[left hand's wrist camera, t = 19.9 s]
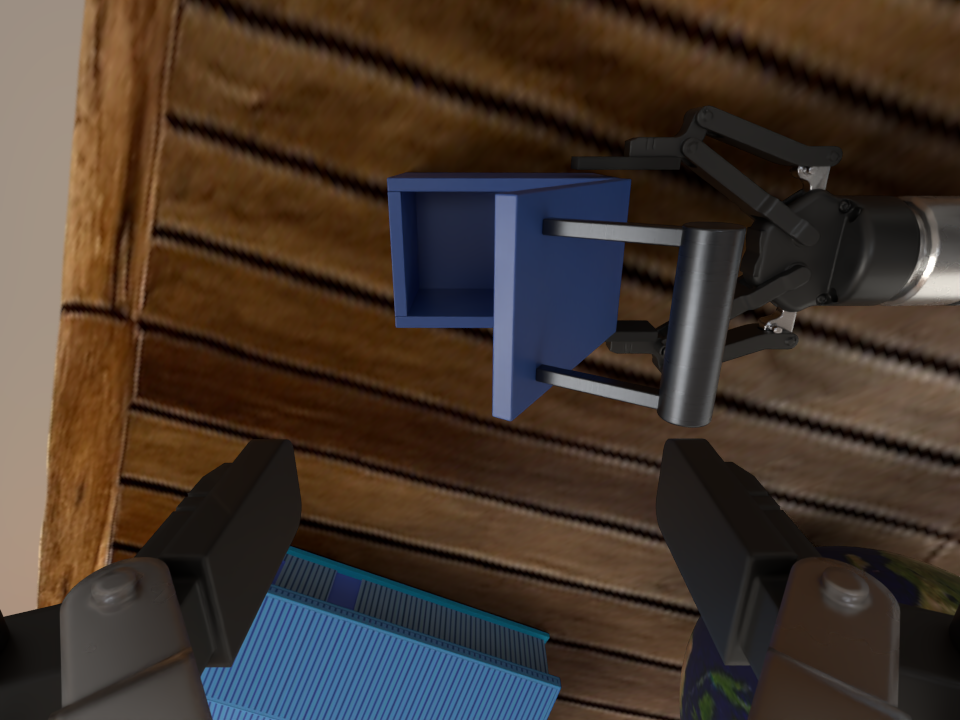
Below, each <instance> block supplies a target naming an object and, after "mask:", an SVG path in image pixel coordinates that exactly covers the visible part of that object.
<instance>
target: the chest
mask: <svg viewBox="0 0 960 720" xmlns="http://www.w3.org/2000/svg"><path fill="white" fill-rule="evenodd" d="M608 179H616V177H611V176H605V175H600V174H595V173H403V174H400V175H396V176H392V177H389V178H387V185H388V191H389V192H388V203H389V220H390V237H391V254H392V271H393V288H394V305H395V321H396V327H397V328H493V319H494V236H495V194H496V193H503V192H511V191H519V190H527V189H535V188H543V187H552V186H560V185H568V184H576V183H584V182H592V181H600V180H608ZM617 179H620V178H617Z"/></svg>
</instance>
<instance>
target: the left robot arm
mask: <svg viewBox="0 0 960 720" xmlns="http://www.w3.org/2000/svg"><path fill="white" fill-rule="evenodd" d="M656 515H657V521H658V525H659V528H660V530H661V533H662V535H663V537H664V539H665V541H666V543H667V545H668V547H669V549H670V551H671V554H672V556H673V558H674V560H675V562H676V564H677V566H678V568H679V570H680V572H681V575H682V577H683V579H684V581H685V583H686V585H687V587H688V589H689V591H690V593H691V595H692V598H693V600H694V602H695V604H696V606H697V608H698V610H699V612H700V614H701V616H702V619H703V621H704V623H705V625H706V627H707V629H708V631H709V633H710V635H711V637H712V640H713V642H714V644H715V646H716V648H717V650H718V652H719V654H720V656H721V658H722V661H723V663H724V665H750V666H751V668H752V670H753V671H754V673H755V675H756V677H757V679H758V684H757V688H756V691H755V695H754V698H753V701H752V705H751V708H750V712H749V715H748V719H747V720H960V603H959V606H958V608H957V610H956V613H955V615H950V614H946V613H941V612H937V611H932V610H928V609H924V608H919V607H915V606H910V605H906V604H902V603H898V602H897V600H896V599H895V597H894V596H893V594H892V593H891V592H890V591H889V590H888V589H887V588H886V587H885V586H884V585H883V584H882V583H881V582H880V581H878V580H877V579H876V578H874V577H873V576H871V575H870V574H868V573H866V572H865V571H863V570H861V569H859V568H857V567H855V566H852V565H850V564H847V563H844V562H841V561H838V560H834V559H830V558H823V557H822V556H821V555H820V553H819V552H818V551H817V550H816V549H815V548H814V546H813V545H812V544H811V543H810V542H809V540H808V539H807V538H806V537H805V536H804V535H803V533H802V532H801V531H800V530H799V529H798V527H797V526H796V525H795V524H794V523H793V522H792V520H791V519H790V518H789V517H788V516H787V514H786V513H785V512H784V511H783V510H780V506H779V505H778V504H777V503H776V501H775V500H774V499H773V498H772V497H771V496H768V492H767V491H766V490H765V488H764V487H763V486H762V485H761V484H760V482H759V481H758V480H757V479H756V478H755V477H754V476H753V475H752V474H750V473H749V472H747V471H745V470H744V469H742V468H741V467H739V466H738V465H736V464H735V463H733V462H724V461H723V460H722V459H721V457H720V456H719V455H718V453H717V452H716V451H715V450H714V448H713V447H712V446H711V445H710V443H709V442H708V441H707V440H706V439H668V440H667V441H666V443H665V445H664V450H663V456H662V463H661V470H660V477H659V483H658V490H657V497H656ZM300 518H301V496H300V489H299V482H298V476H297V469H296V462H295V456H294V450H293V446H292V443H291V442H290V441H289V440H251V441H250V442H249V443H248V444H247V445H246V447H245V448H244V449H243V450H242V452H241V453H240V454H239V455H238V457H237V458H236V459H235V460H234V462H233V463H224V464H222V465H221V466H219V467H217V468H216V469H214V470H213V471H211V472H210V473H208V474H207V475H205V476H204V477H202V478H201V480H200V481H199V482H198V483H197V484H196V485H195V487H194V488H193V489H192V490H191V491H190V492H189V494H188V497H185V498H184V499H183V501H182V502H181V503H180V504H179V505H178V506H177V508H176V511H173V512H172V514H171V515H170V516H169V517H168V518H167V519H166V521H165V522H164V523H163V524H162V525H161V526H160V528H159V529H158V530H157V531H156V532H155V533H154V535H153V536H152V537H151V538H150V539H149V540H148V542H147V543H146V544H145V545H144V546H143V547H142V549H141V550H140V551H139V552H138V553H137V555H136V556H135V557H134V558H130V559H126V560H122V561H119V562H116V563H113V564H110V565H108V566H105V567H103V568H101V569H99V570H97V571H95V572H94V573H92V574H90V575H89V576H87V577H86V578H84V579H83V580H82V581H80V582H79V583H78V584H77V585H76V586H75V587H74V588H73V589H72V590H71V591H70V592H69V593H68V594H67V596H66V597H65V599H64V600H63V602H62V603H61V604H57V605H53V606H49V607H44V608H40V609H36V610H31V611H27V612H23V613H19V614H14V615H10V616H5V617H3V615H2V612H1V610H0V720H213V719H212V715H211V712H210V708H209V705H208V701H207V698H206V695H205V691H204V688H203V684H202V681H201V675H202V673H203V671H204V669H205V667H232V665H233V663H234V661H235V658H236V656H237V654H238V652H239V650H240V648H241V646H242V644H243V642H244V640H245V638H246V636H247V634H248V632H249V629H250V627H251V625H252V623H253V621H254V619H255V617H256V615H257V613H258V611H259V609H260V607H261V605H262V603H263V600H264V598H265V596H266V594H267V592H268V590H269V588H270V586H271V584H272V582H273V580H274V578H275V576H276V574H277V571H278V569H279V567H280V565H281V563H282V561H283V559H284V557H285V555H286V553H287V551H288V549H289V547H290V545H291V542H292V540H293V538H294V536H295V534H296V532H297V530H298V527H299V523H300Z"/></svg>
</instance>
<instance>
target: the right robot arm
mask: <svg viewBox="0 0 960 720" xmlns="http://www.w3.org/2000/svg"><path fill="white" fill-rule="evenodd" d="M705 135H707V136H709V137H712V138H714V139H717V140H719V141H722V142H724V143H727V144H729V145H731V146H734V147H736V148H739V149H741V150H744V151H746V152H749V153H751V154H754V155H756V156H758V157H761V158H763V159H766V160H768V161H771V162H773V163H776V164H780V165H788V166H791V167H790V172H791V175H792V176H793V177H794V178H797V179H799V180H801V181H802V183H803V189H801V190H799V191H797V192H796V193H794V194H793V195H791V196H790V197H788V198H787V199H785V200H784V201H782V202H781V201H780V200H778V199H777V198H775V197H773V196H771V195H769V194H768V193H767V192H765V191H764V190H763V189H762V188H760V187H759V186H758V185H756V184H755V183H754V182H753V181H751V180H750V179H749V178H748V177H746V176H745V175H744V174H743V173H741V172H740V171H739V170H737V169H736V168H735V167H734V166H732V165H731V164H730V163H729V162H727V161H726V160H725V159H724V158H722V157H721V156H720V155H719V154H717V153H716V152H715V151H713V150H712V149H711V148H710V147H708V146H707V145H706V144H705V143H703V142H702V141H703V139H704V137H705ZM841 158H842V150H841V149H840V148H839V147H837V146H806V145H804V144H802V143H799V142H797V141H794V140H792V139H790V138H787V137H785V136H782V135H780V134H778V133H775V132H773V131H770V130H768V129H766V128H763V127H761V126H758V125H756V124H754V123H751V122H749V121H746V120H744V119H742V118H739V117H737V116H734V115H732V114H729V113H727V112H725V111H722V110H720V109H717V108H715V107H713V106H704V107H699V108H694V109H690V110H689V111H687V112H686V114H685V116H684V123H683V125H682V127H681V130H680V131H679V133H678V134H677V135H675V136H674V137H638V138H632V139H629V140H627V141H625V148H624V157H572V159H571V168H572V169H577V170H680V163H681V162H682V163H683V164H684V165H686V166H687V167H688V168H690V169H691V170H692V171H693V172H695V173H696V174H697V175H699V176H700V177H701V178H703V179H704V180H705V181H706V182H708V183H709V184H710V185H712V186H713V187H714V188H716V189H717V190H718V191H719V192H721V193H722V194H723V195H725V196H726V197H727V198H728V199H730V200H731V201H732V202H734V203H735V204H736V205H738V206H739V207H740V209H741V210H742V211H743V212H744V213H746V214H747V215H748V216H749V217H751V218H752V219H753V220H755V221H754V223H753V224H752V226H751V227H748V228H747V234H746V252H745V254H744V256H743V258H742V261H741V266H740V271H742V272H743V275H742V276H740V277H738V278H737V283H736V288H735V294H734V299H733V304H732V310H731V315H730V320H731V319H733V318H734V317H736V316H738V315H740V314H741V313H743V312H745V311H747V310H754V309H757V308H759V307H761V306H763V305H764V304H766V303H768V302H771V303H772V304H773V305H775V306H776V307H777V309H776V311H775V312H774V313H773V314H772V315H770V316H766V317H762V318H760V319H759V321H758V323H755V324H747V325H743V326H740V327H736V328H733V329H730V330H728V332H727V337H726V343H725V348H724V353H723V359H722V362H725V361H728V360H731V359H735V358H738V357H741V356H744V355H748V354H751V353H754V352H757V351H761V350H764V349H792V348H794V347H795V346H796V345H797V343H798V337H797V335H795V334H794V333H792V330H793V326H794V321H795V317H796V313H797V312H798V311H801V310H803V309H805V308H807V307H810V306H816V305H820V306H873V305H879V304H880V305H885V306H920V305H960V196H898V197H893V196H835V195H833V194H831V193H829V192H828V191H826V190H825V188H826V184H827V179H828V175H829V170H830V166H835V165H836V164H838V163H839V162H840V160H841ZM668 326H669V321H668V322H666V323H664V324H663V325H661V326H659V327H657V328H656V329H655V328H654V327H653V326H652V325H651V324H650V323H649V322H648V321H635V320H617V325H616V332H615V333H614V334H613V335H611V336H610V337H609V338H608V339H607V340H606V341H604V342H606V345H607V347H608V348H609V350H610V351H612V352H614V353H649V354H652V356H653V358H652V361H653V363H654V365H655V366H656V367H657V368H658V370H659V371H660V372H661V373H662V369H663V362H664V355H665V348H666V341H667V333H668Z"/></svg>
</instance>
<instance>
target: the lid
mask: <svg viewBox="0 0 960 720" xmlns="http://www.w3.org/2000/svg"><path fill="white" fill-rule="evenodd" d="M630 187H631V179H617V178H616V179H608V180H600V181H592V182H584V183H576V184H568V185H560V186H552V187H543V188H535V189H527V190H519V191H511V192H503V193H496V194H495V236H494V319H493V403H492V416H493V417H497V418H500V419H504V420H508V421H512V420H513V419H515V418H516V417H517V416H518V415H519V414H520V413H522V412H523V411H524V410H525V409H526V408H527V407H529V406H530V405H531V404H532V403H533V402H534V401H536V400H537V399H538V398H539V397H540V396H541V395H543V394H544V393H545V392H546V391H547V390H548V389H550V388H551V387H552V386H553V385H555V386H559V387H563V388H568V389H572V390H576V391H581V392H585V393H589V394H593V395H598V396H602V397H606V398H610V399H615V400H619V401H623V402H628V403H632V404H636V405H640V406H645V407H649V408H653V409H657V413H658V415H659V417H661V418H662V419H663V420H665V421H667V422H669V423H671V424H674V425H678V426H683V427H702V426H705V425H707V424H709V423H710V421H711V419H712V413H713V408H714V402H715V397H716V392H717V386H718V381H719V375H720V370H721V364H722V359H723V353H724V348H725V343H726V337H727V332H728V326H729V321H730V315H731V310H732V304H733V299H734V294H735V288H736V283H737V277H738V272H739V266H740V261H741V255H742V250H743V245H744V239H745V234H746V227H745V226H742V225H738V224H732V223H722V222H689V223H685V224H683V226H672V225H657V224H642V223H627V217H628V207H629V197H630ZM625 242H629V243H641V244H653V245H665V246H676V247H680V248H679V255H678V262H677V269H676V276H675V283H674V290H673V298H672V305H671V312H670V319H669V326H668V333H667V341H666V348H665V355H664V362H663V369H662V376H661V383H660V389H656V388H651V387H647V386H642V385H637V384H633V383H628V382H623V381H619V380H614V379H610V378H605V377H600V376H596V375H591V374H586V373H582V372H577V371H572V369H573V368H574V367H575V366H576V365H578V364H579V363H580V362H581V361H582V360H583V359H585V358H586V357H587V356H588V355H589V354H590V353H592V352H593V351H594V350H595V349H596V348H597V347H599V346H600V345H601V344H602V343H603V342H604V341H606V340H607V339H608V338H609V337H610V336H611V335H613V334H614V333H615V332H616V325H617V315H618V305H619V295H620V286H621V276H622V266H623V256H624V246H625Z"/></svg>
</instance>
